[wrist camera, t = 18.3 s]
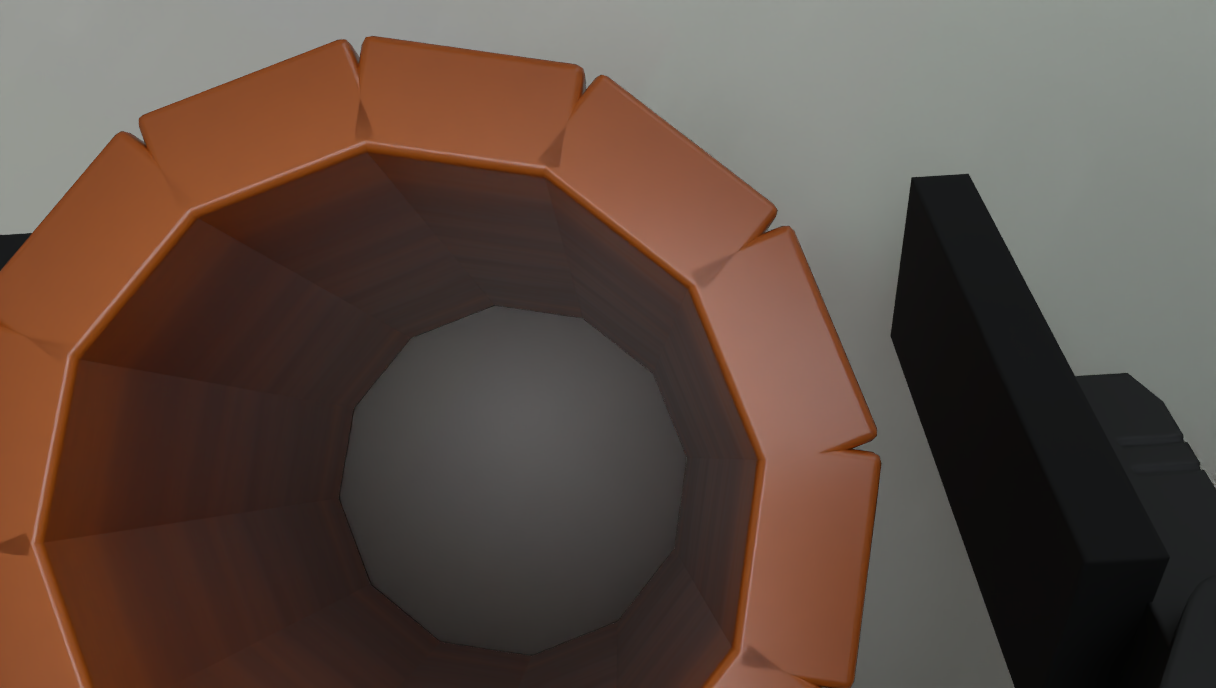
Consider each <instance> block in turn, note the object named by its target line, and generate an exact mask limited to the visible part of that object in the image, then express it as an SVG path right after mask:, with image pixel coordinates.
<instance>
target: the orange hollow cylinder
mask: <svg viewBox="0 0 1216 688" xmlns="http://www.w3.org/2000/svg"><path fill="white" fill-rule="evenodd" d="M139 128H140V131H141V133H142V136H143V139H144V142H143V141H142V140H140V139H139V138H137V137H135V136H134V135H132V134H131V133H128V132H124V131H121V132H119V133H118V134H116V135H115V136H114V137H113V138H112V140H111V141H110V142H109V143H108V144H107V146H106V147H105V148H104V149H103V150H102V151H101V153H100V154H99V155H98V156H97V157H96V159H95V160H94V161H93V162H92V163H91V164H90V166H89V167H88V168H87V169H86V170H85V172H84V173H83V174H82V175H81V176H80V177H79V179H78V180H77V181H76V182H75V183H74V184H73V186H72V187H71V188H70V189H69V190H68V192H67V193H66V194H65V195H64V196H63V197H62V199H61V200H60V201H59V202H58V203H57V205H56V206H55V207H54V208H53V209H52V210H51V212H50V213H49V214H48V215H47V216H46V218H45V219H44V220H43V221H42V222H41V223H40V225H39V226H38V227H37V228H36V229H35V231H34V232H33V233H32V234H31V235H30V236H29V238H28V239H27V240H26V241H25V242H24V244H23V245H22V246H21V247H20V248H19V249H18V251H17V252H16V253H15V254H14V255H13V257H12V258H11V259H10V260H9V261H8V262H7V264H6V265H5V266H4V267H3V268H2V270H1V271H0V688H827V687H828V688H851V686H852V684H853V682H854V679H855V671H856V663H857V655H858V647H859V639H860V631H861V623H862V615H863V607H864V599H865V591H866V583H867V575H868V567H869V559H870V551H871V543H872V535H873V527H874V519H875V511H876V503H877V495H878V487H879V479H880V471H881V460H880V456H878V455H877V454H875V453H873V452H869V451H862V450H855V449H853V448H855V447H858V446H860V445H863V444H865V443H868V442H870V441H872V440H873V439H874V438H875V437H876V436H877V427H876V425H875V423H874V420H873V418H872V415H871V413H870V411H869V408H868V406H867V404H866V401H865V399H864V396H863V394H862V392H861V389H860V387H859V384H858V382H857V380H856V377H855V375H854V372H853V370H852V368H851V365H850V363H849V360H848V358H847V356H846V353H845V351H844V349H843V346H842V344H841V341H840V339H839V337H838V334H837V332H836V329H835V327H834V325H833V322H832V320H831V317H830V315H829V313H828V310H827V308H826V305H825V303H824V301H823V298H822V296H821V293H820V291H819V289H818V286H817V284H816V282H815V279H814V277H813V274H812V272H811V270H810V267H809V265H808V262H807V260H806V258H805V255H804V253H803V250H802V248H801V246H800V243H799V241H798V238H797V236H796V234H795V231H794V230H793V229H792V228H791V227H790V226H781V227H778V228H776V229H773V230H771V231H768V232H766V231H767V229H768V228H769V226H770V225H771V223H772V222H773V220H774V219H775V217H776V214H777V211H778V210H777V208H776V207H775V205H774V204H773V203H772V202H770V201H769V200H768V199H766V198H765V197H764V196H763V195H761V194H760V193H759V192H757V191H756V190H755V189H753V188H752V187H751V186H750V185H748V184H747V183H746V182H744V181H743V180H742V179H740V178H739V177H738V176H737V175H735V174H734V173H733V172H731V171H730V170H729V169H727V168H726V167H725V166H724V165H722V164H721V163H720V162H718V161H717V160H716V159H714V158H713V157H712V156H711V155H709V154H708V153H707V152H705V151H704V150H703V149H701V148H700V147H699V146H698V145H696V144H695V143H694V142H692V141H691V140H690V139H688V138H687V137H686V136H684V135H683V134H682V133H681V132H679V131H678V130H677V129H675V128H674V127H673V126H671V125H670V124H669V123H668V122H666V121H665V120H664V119H662V118H661V117H660V116H658V115H657V114H656V113H655V112H653V111H652V110H651V109H649V108H648V107H647V106H645V105H644V104H643V103H642V102H640V101H639V100H638V99H636V98H635V97H634V96H632V95H631V94H630V93H629V92H627V91H626V90H625V89H623V88H622V87H621V86H619V85H618V84H617V83H616V82H614V81H613V80H612V79H610V78H609V77H608V76H604V75H600V76H598V77H597V78H595V79H594V81H593V82H592V83H591V84H590V86H589V87H588V88H587V89H586V80H585V74H584V70H583V68H582V67H580V66H578V65H576V64H570V63H562V62H555V61H548V60H541V59H534V58H527V57H520V56H513V55H506V54H498V53H491V52H484V51H477V50H470V49H463V48H456V47H449V46H441V45H434V44H427V43H420V42H413V41H406V40H399V39H392V38H384V37H377V36H371V37H366V38H365V40H364V42H363V44H362V47H361V53H360V57H359V56H358V54H357V53H356V51H355V50H354V48H353V47H352V45H351V44H350V43H349V42H348V41H347V40H345V39H343V40H336V41H334V42H331V43H329V44H326V45H323V46H321V47H318V48H316V49H313V50H310V51H308V52H305V53H303V54H300V55H297V56H295V57H292V58H290V59H287V60H284V61H282V62H279V63H277V64H274V65H271V66H269V67H266V68H264V69H261V70H259V71H256V72H253V73H251V74H248V75H246V76H243V77H240V78H238V79H235V80H233V81H230V82H227V83H225V84H222V85H220V86H217V87H214V88H212V89H209V90H207V91H204V92H201V93H199V94H196V95H194V96H191V97H188V98H186V99H183V100H181V101H178V102H175V103H173V104H170V105H168V106H165V107H162V108H160V109H157V110H155V111H152V112H149V113H147V114H144V115H142V116H141V117H140V118H139ZM765 232H766V233H765ZM494 305H496V306H503V307H510V308H517V309H524V310H531V311H537V312H544V313H551V314H558V315H565V316H572V317H579V318H583V319H584V320H586V321H587V322H588V323H590V324H591V325H592V326H593V327H595V328H596V329H597V330H598V331H600V332H601V333H602V334H603V335H605V336H606V337H607V338H609V339H610V340H611V341H612V342H614V343H615V344H616V345H617V346H619V347H620V348H621V349H623V350H624V351H625V352H626V353H628V354H629V355H630V356H631V357H633V358H634V359H635V360H636V361H638V362H639V363H640V364H642V365H643V366H644V367H645V368H647V369H648V370H649V371H650V372H652V373H653V374H654V377H655V379H656V382H657V384H658V387H659V389H660V392H661V394H662V397H663V399H664V402H665V404H666V407H667V409H668V412H669V414H670V417H671V419H672V422H673V424H674V427H675V429H676V432H677V434H678V437H679V439H680V442H681V444H682V447H683V449H684V452H685V454H686V457H687V461H686V468H685V475H684V483H683V490H682V497H681V504H680V511H679V518H678V525H677V532H676V539H675V546H674V550H673V551H672V552H671V553H670V555H669V556H668V557H667V559H666V560H665V561H664V562H663V564H662V565H661V566H660V568H659V569H658V570H657V571H656V573H655V574H654V575H653V577H652V578H651V579H650V580H649V582H648V583H647V584H646V586H645V587H644V588H643V589H642V591H641V592H640V593H639V595H638V596H637V597H636V598H635V600H634V601H633V602H632V604H631V605H630V606H629V607H628V609H627V610H626V611H625V613H624V614H623V615H622V616H621V618H620V619H619V620H618V621H617V622H615V623H612V624H610V625H607V626H605V627H603V628H600V629H598V630H595V631H593V632H590V633H588V634H585V635H583V636H580V637H578V638H575V639H573V640H570V641H568V642H565V643H563V644H560V645H558V646H555V647H553V648H550V649H548V650H545V651H543V652H540V653H538V654H535V655H533V656H529V655H523V654H516V653H510V652H503V651H497V650H490V649H484V648H477V647H471V646H464V645H457V644H451V643H444V642H440V641H439V640H438V639H436V638H435V637H434V636H433V635H431V634H430V633H429V632H428V631H427V630H425V629H424V628H423V627H422V626H420V625H419V624H418V623H417V622H416V621H414V620H413V619H412V618H411V617H410V616H408V615H407V614H406V613H405V612H403V611H402V610H401V609H400V608H399V607H397V606H396V605H395V604H394V603H392V602H391V601H390V600H389V599H388V598H386V597H385V596H384V595H383V594H381V593H380V592H379V591H378V590H377V589H375V588H374V587H373V586H372V585H371V584H370V582H369V579H368V576H367V574H366V571H365V568H364V566H363V563H362V560H361V557H360V555H359V552H358V549H357V547H356V544H355V541H354V538H353V536H352V533H351V530H350V528H349V525H348V522H347V520H346V517H345V514H344V511H343V509H342V506H341V503H340V501H339V493H340V487H341V481H342V475H343V469H344V463H345V457H346V451H347V445H348V440H349V434H350V428H351V422H352V416H353V410H354V407H355V406H356V405H357V404H358V402H359V401H360V400H361V399H362V398H363V396H364V395H365V394H366V393H367V391H368V390H369V389H370V388H371V386H372V385H373V384H374V383H375V382H376V380H377V379H378V378H379V377H380V375H381V374H382V373H383V372H384V370H385V369H386V368H387V367H388V365H389V364H390V363H391V362H392V361H393V359H394V358H395V357H396V356H397V354H398V353H399V352H400V351H401V349H402V348H403V347H404V346H405V345H406V343H407V342H408V341H409V340H410V338H412V337H415V336H417V335H420V334H422V333H425V332H428V331H430V330H433V329H435V328H438V327H440V326H443V325H445V324H448V323H450V322H453V321H456V320H458V319H461V318H463V317H466V316H468V315H471V314H473V313H476V312H478V311H481V310H484V309H486V308H489V307H491V306H494Z"/></svg>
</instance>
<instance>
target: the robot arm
mask: <svg viewBox="0 0 1216 688" xmlns="http://www.w3.org/2000/svg"><path fill="white" fill-rule="evenodd" d="M31 234H32V233H27V234H12V235H0V271H1V270H2V268H3V267H4V266H5V265H6V264H7V262H8V261H9V260H10V259H11V258H12V257H13V255H14V254H15V253H16V252H17V251H18V249H19V248H20V247H21V246H22V245H23V244H24V242H25V241H26V240H27V239H28V238H29V236H30V235H31ZM891 339H892V342H893V344H894V347H895V350H896V353H897V356H898V359H899V361H900V364H901V367H902V370H903V373H904V376H905V378H906V381H907V384H908V387H909V390H910V392H911V395H912V398H913V401H914V404H915V407H916V409H917V412H918V415H919V418H920V421H921V424H922V426H923V429H924V432H925V435H926V438H927V441H928V443H929V446H930V449H931V452H932V455H933V458H934V460H935V463H936V466H937V469H938V472H939V475H940V477H941V480H942V483H943V486H944V489H945V492H946V494H947V497H948V500H949V503H950V506H951V509H952V511H953V514H954V517H955V520H956V523H957V525H958V528H959V531H960V534H961V537H962V540H963V542H964V545H965V548H966V551H967V554H968V557H969V559H970V562H971V565H972V568H973V571H974V574H975V576H976V579H977V582H978V585H979V588H980V591H981V593H982V596H983V599H984V602H985V605H986V608H987V610H988V613H989V616H990V619H991V622H992V625H993V627H994V630H995V633H996V636H997V639H998V642H999V644H1000V647H1001V650H1002V653H1003V656H1004V658H1005V661H1006V664H1007V667H1008V670H1009V673H1010V675H1011V678H1012V681H1013V684H1014V687H1015V688H1216V489H1215V487H1214V486H1213V484H1212V482H1211V481H1210V479H1209V477H1208V476H1207V474H1206V472H1205V471H1204V470H1201V469H1200V462H1199V461H1198V459H1197V457H1196V456H1195V454H1194V452H1193V451H1192V449H1191V447H1190V446H1189V444H1188V442H1185V443H1184V440H1183V434H1182V432H1181V431H1180V429H1179V427H1178V426H1177V424H1176V422H1175V421H1174V419H1173V417H1172V416H1171V414H1170V412H1169V411H1168V409H1167V407H1166V406H1165V404H1164V402H1163V401H1162V400H1160V399H1159V398H1158V397H1157V396H1155V395H1154V394H1153V393H1152V392H1150V391H1149V390H1148V389H1147V388H1145V387H1144V386H1143V385H1142V384H1141V383H1139V382H1138V381H1137V380H1136V379H1134V378H1133V377H1132V376H1131V375H1129V374H1128V373H1120V374H1104V375H1088V376H1075V375H1074V373H1073V372H1072V370H1071V368H1070V366H1069V364H1068V362H1067V360H1066V358H1065V356H1064V354H1063V353H1062V351H1061V349H1060V347H1059V345H1058V343H1057V341H1056V339H1055V337H1054V335H1053V334H1052V332H1051V330H1050V328H1049V326H1048V324H1047V322H1046V320H1045V318H1044V316H1043V315H1042V313H1041V311H1040V309H1039V307H1038V305H1037V303H1036V301H1035V299H1034V297H1033V296H1032V294H1031V292H1030V290H1029V288H1028V286H1027V284H1026V282H1025V280H1024V278H1023V276H1022V275H1021V273H1020V271H1019V269H1018V267H1017V265H1016V263H1015V261H1014V259H1013V257H1012V256H1011V254H1010V252H1009V250H1008V248H1007V246H1006V244H1005V242H1004V240H1003V238H1002V237H1001V235H1000V233H999V231H998V229H997V227H996V225H995V223H994V221H993V219H992V218H991V216H990V214H989V212H988V210H987V208H986V206H985V204H984V202H983V200H982V199H981V197H980V195H979V193H978V191H977V189H976V187H975V185H974V183H973V181H972V180H971V178H970V176H969V174H959V175H943V176H927V177H912V178H911V186H910V193H909V201H908V208H907V216H906V224H905V231H904V239H903V246H902V254H901V261H900V269H899V276H898V284H897V292H896V299H895V307H894V314H893V322H892V329H891Z"/></svg>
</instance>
